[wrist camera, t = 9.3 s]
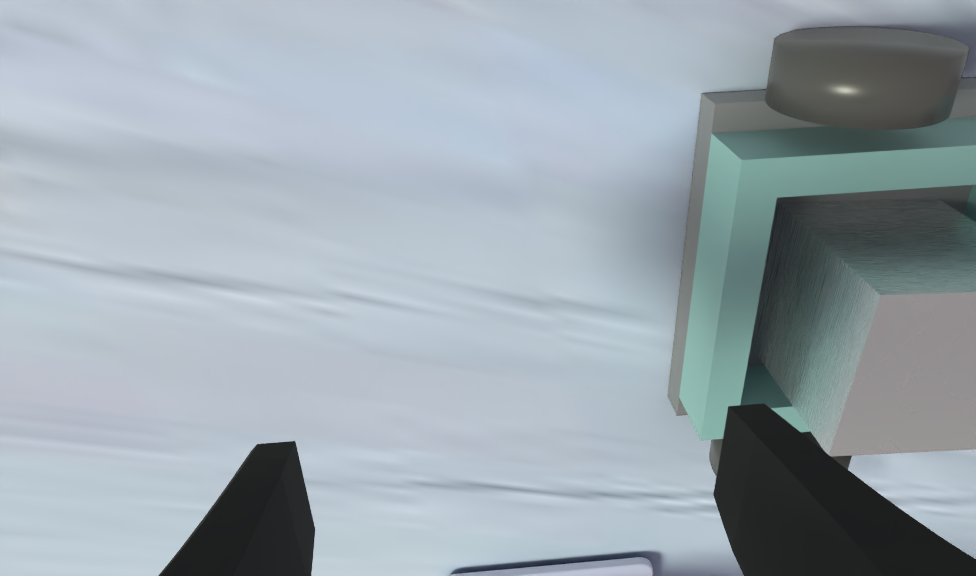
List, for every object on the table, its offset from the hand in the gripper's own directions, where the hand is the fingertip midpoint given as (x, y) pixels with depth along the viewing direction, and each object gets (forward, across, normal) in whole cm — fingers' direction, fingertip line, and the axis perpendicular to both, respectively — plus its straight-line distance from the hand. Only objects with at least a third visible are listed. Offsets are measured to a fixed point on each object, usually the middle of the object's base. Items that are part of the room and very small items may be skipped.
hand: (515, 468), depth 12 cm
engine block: (+8, -10, +2) cm, 13 cm away
